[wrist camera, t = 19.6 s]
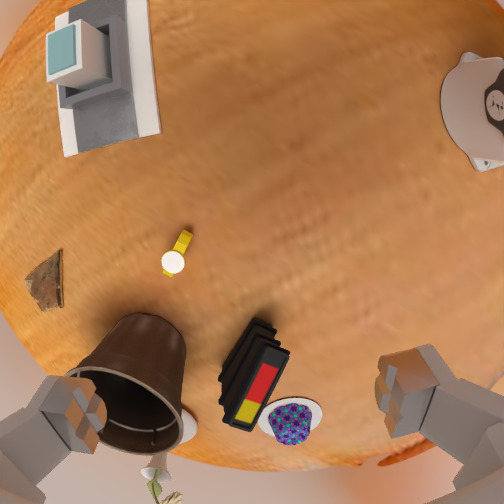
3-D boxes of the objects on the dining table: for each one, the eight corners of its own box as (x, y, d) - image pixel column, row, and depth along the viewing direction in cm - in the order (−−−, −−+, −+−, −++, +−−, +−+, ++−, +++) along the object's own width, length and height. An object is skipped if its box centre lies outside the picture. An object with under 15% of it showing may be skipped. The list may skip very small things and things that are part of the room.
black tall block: (210, 384, 48) (224, 426, 33) (245, 312, 50) (272, 328, 35) (231, 392, 49) (252, 435, 34) (266, 321, 51) (300, 340, 36)
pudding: (334, 411, 54) (340, 431, 49) (288, 441, 57) (291, 461, 52) (291, 385, 51) (294, 406, 46) (244, 419, 54) (244, 440, 49)
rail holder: (147, -14, 29) (136, -29, 25) (161, 133, 37) (150, 132, 32) (58, 18, 30) (41, 9, 25) (68, 156, 37) (49, 160, 32)
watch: (181, 223, 41) (173, 233, 35) (200, 232, 42) (195, 244, 36) (162, 261, 42) (152, 277, 37) (180, 271, 43) (173, 287, 37)
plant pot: (85, 339, 47) (43, 404, 32) (134, 277, 43) (89, 343, 28) (160, 395, 51) (141, 467, 36) (219, 345, 47) (211, 426, 32)
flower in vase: (184, 441, 56) (168, 546, 32) (132, 419, 54) (100, 524, 30) (212, 408, 52) (202, 532, 29) (154, 382, 50) (118, 506, 26)
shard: (64, 246, 42) (58, 250, 40) (91, 288, 44) (87, 293, 43) (26, 276, 43) (20, 280, 42) (51, 313, 46) (46, 318, 44)
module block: (112, 39, 30) (78, 17, 21) (115, 80, 32) (79, 66, 23) (81, 50, 30) (43, 33, 21) (84, 90, 33) (43, 81, 23)
